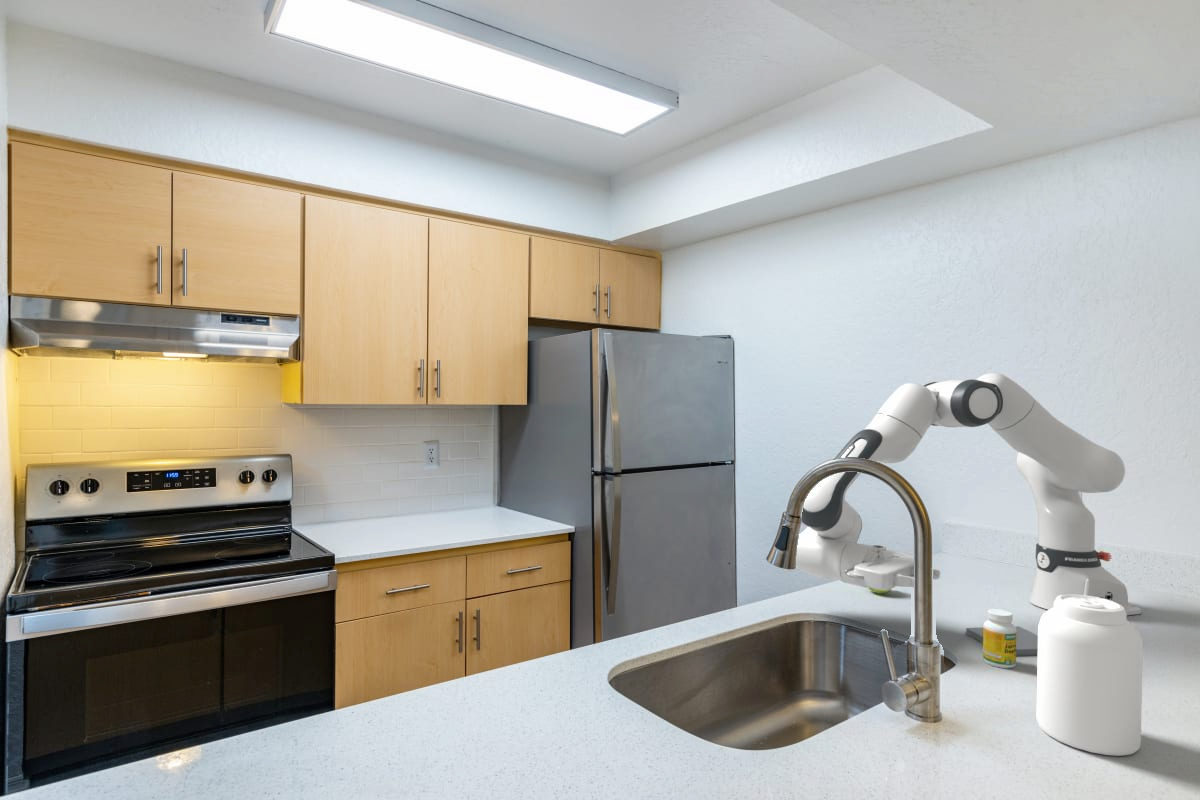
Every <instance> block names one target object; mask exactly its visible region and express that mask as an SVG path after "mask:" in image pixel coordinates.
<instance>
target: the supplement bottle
mask: <svg viewBox="0 0 1200 800" xmlns="http://www.w3.org/2000/svg"><path fill="white" fill-rule="evenodd" d="M986 617H987V620H985V621H984V622H983V626H982V627H983V643H982V659H983V662H985V663H986V664H987V665H990V666H992V667H995V668H1001V669H1012V668H1015V667H1016V665H1017V656H1016V627H1015V626H1016V625H1014V623H1012V622H1013V619H1014V618H1013V613H1012V612H1010V611H1008V610H1005V609H998V608H990V609H988V610H987V616H986Z"/></svg>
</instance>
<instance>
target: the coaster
mask: <svg viewBox="0 0 1200 800" xmlns="http://www.w3.org/2000/svg"><path fill="white" fill-rule="evenodd" d="M1014 626H1015V627H1016V657H1017V656H1019V657H1020V656H1037V654H1038V634H1036V633H1034V632H1032V631H1029V630H1028V629H1025V628H1024V627H1022V626H1019V625H1014ZM965 628H966V629H965V634H966V635H968V636H969V637H972V638H973V639H975V640H977V641H979V642H980V643H982V644H983V626H981V627H965Z"/></svg>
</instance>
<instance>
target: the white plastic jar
mask: <svg viewBox="0 0 1200 800" xmlns="http://www.w3.org/2000/svg"><path fill="white" fill-rule="evenodd" d="M1127 617H1128V615H1127V613H1126V611H1125V609H1124V607H1123V606H1121V605H1120V604H1117V603H1115V602H1113V601H1110V600H1107V599H1103V598H1099V597H1094V596H1088V595H1078V594H1067V595H1060V596H1057V598H1056V600H1055V601H1054V608H1051V609H1050V610H1048V609H1047V610H1046V611H1045V612H1043V613H1042V615H1041V616H1040V618H1039V619H1040V620H1039V622H1038V626H1037V635H1038V654H1037V655H1036V656H1037V659H1036V660H1037V661H1036V662H1037V663H1036V670H1037V671H1036V709H1035V710H1036V712H1035V713H1036V715H1035V719H1036V721H1037V724H1038V725H1039V728H1040V729H1041V730H1042V731H1043V732H1044V733H1045V734H1046V735H1048V737H1051V738H1053V739H1054V740H1056V741H1058V742H1060V743H1062V744H1065V745H1067V746H1069V747H1073V748H1074V749H1078V750H1082V751H1086V752H1088V753H1095V754H1098V755H1099V754H1100V755H1104V756H1118V757H1119V756H1130V755H1133V754H1135V753H1136V752H1138V751H1139V750H1140V748H1141V744H1142V743H1141V742H1142V708H1143V707H1142V703H1143V701H1142V700H1143V664H1144V662H1143V656H1144V654H1143V653H1144V642H1143V639H1142V635H1141V632H1140V630H1138V629H1137V627H1135V626H1134V624H1132V623H1131V622H1130V621H1129V620H1128V619H1127Z"/></svg>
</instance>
